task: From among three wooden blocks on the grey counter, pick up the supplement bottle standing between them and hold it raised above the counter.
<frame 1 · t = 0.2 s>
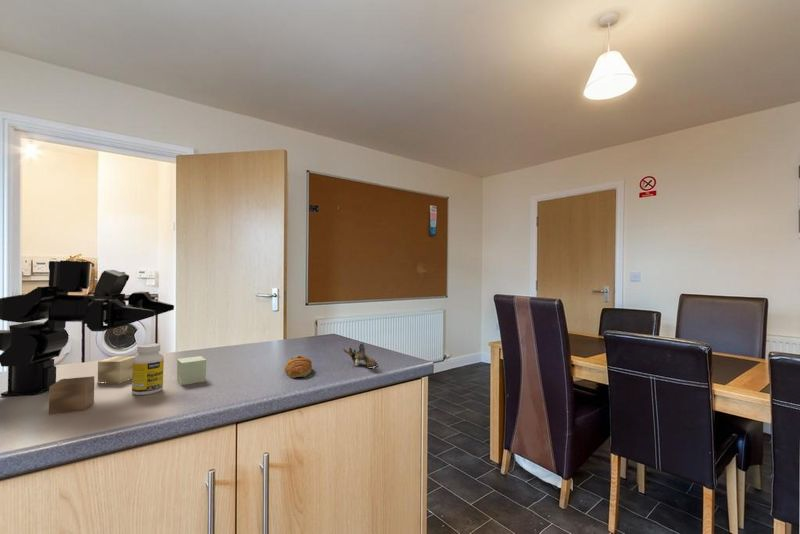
hand: (164, 310, 81), 17 cm above the worktop, tool horizontal, fingers open, 9 cm apart
pastry: (299, 374, 92), on the worktop
supplement bottle: (147, 392, 77), on the worktop
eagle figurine: (361, 366, 100), on the worktop
maple block: (117, 380, 85), on the worktop
walnut block: (72, 408, 68), on the worktop
sage block: (191, 380, 85), on the worktop
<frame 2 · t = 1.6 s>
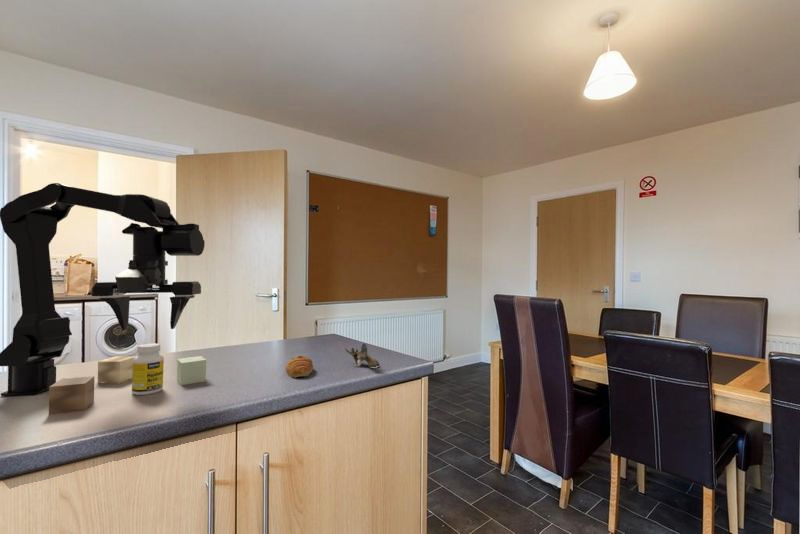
hand: (148, 329, 77), 13 cm above the worktop, tool pointing down, fingers open, 9 cm apart
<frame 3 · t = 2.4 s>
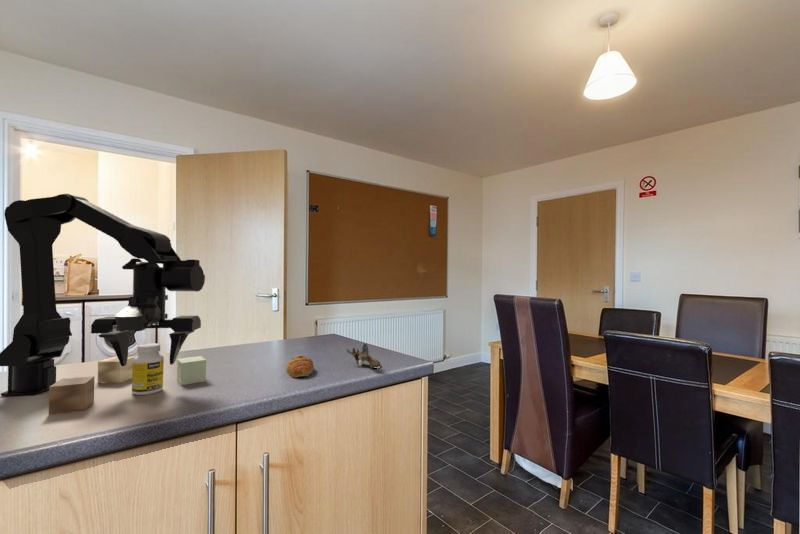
hand: (148, 365, 77), 6 cm above the worktop, tool pointing down, fingers open, 9 cm apart
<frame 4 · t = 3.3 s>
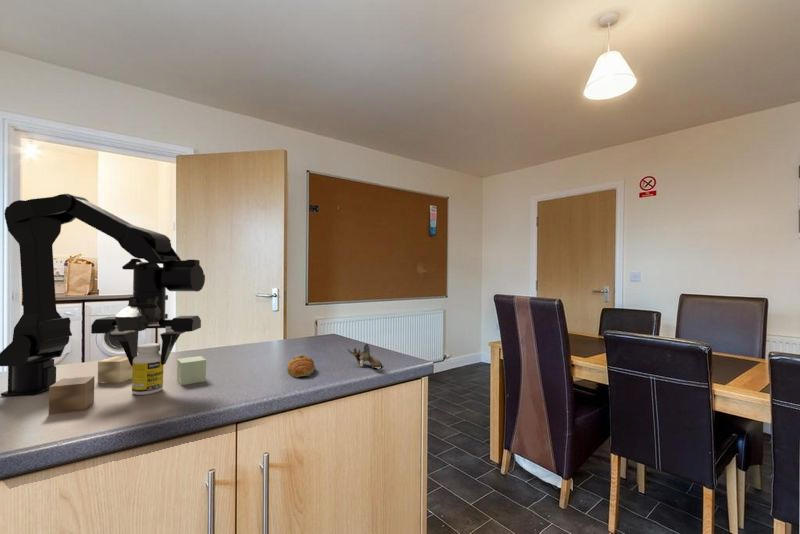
hand: (148, 365, 77), 6 cm above the worktop, tool pointing down, fingers closed on supplement bottle, 5 cm apart
supplement bottle: (147, 392, 77), on the worktop, touching gripper
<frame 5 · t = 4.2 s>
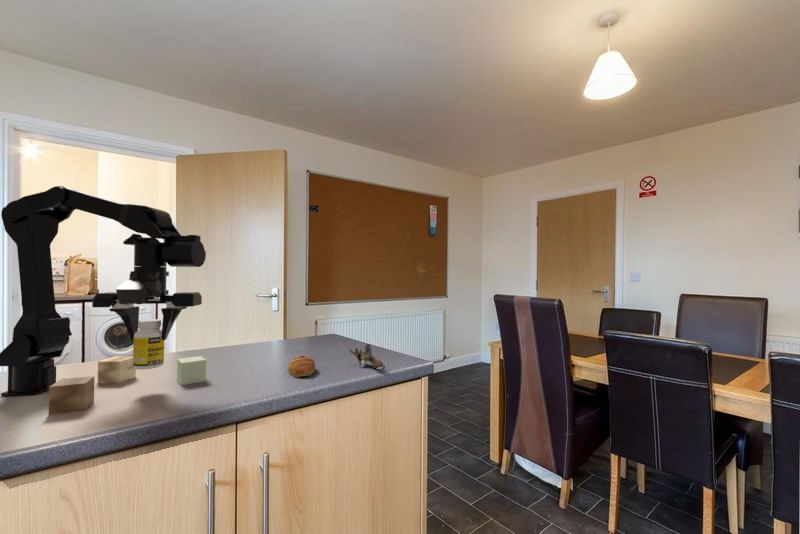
hand: (149, 340, 77), 11 cm above the worktop, tool pointing down, fingers closed on supplement bottle, 5 cm apart
supplement bottle: (148, 367, 77), point 5 cm above the worktop, touching gripper
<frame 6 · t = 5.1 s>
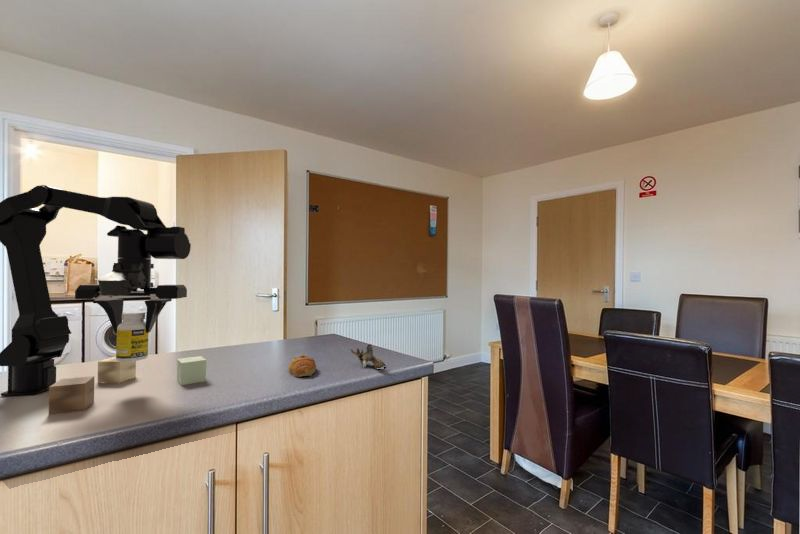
hand: (133, 332, 77), 12 cm above the worktop, tool pointing down, fingers closed on supplement bottle, 5 cm apart
supplement bottle: (132, 360, 77), point 7 cm above the worktop, touching gripper
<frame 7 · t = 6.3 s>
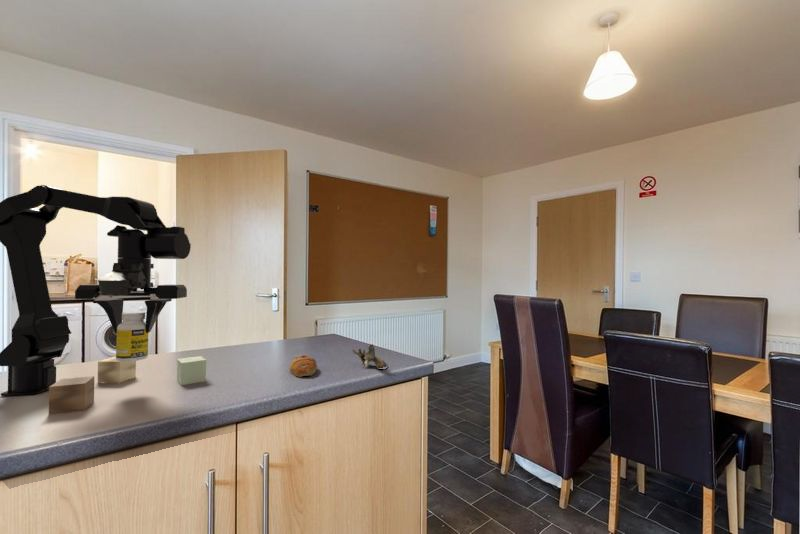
hand: (133, 332, 77), 12 cm above the worktop, tool pointing down, fingers closed on supplement bottle, 5 cm apart
supplement bottle: (132, 360, 77), point 7 cm above the worktop, touching gripper
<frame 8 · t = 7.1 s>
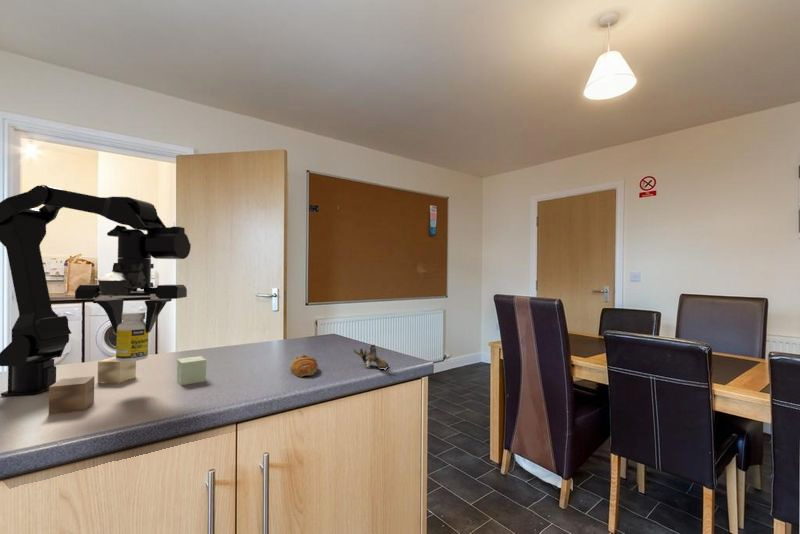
hand: (133, 332, 77), 12 cm above the worktop, tool pointing down, fingers closed on supplement bottle, 5 cm apart
supplement bottle: (132, 360, 77), point 7 cm above the worktop, touching gripper
at the end: the gripper is holding supplement bottle; supplement bottle point 6.7 cm above the worktop; walnut block moved 0.1 cm from its start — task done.
